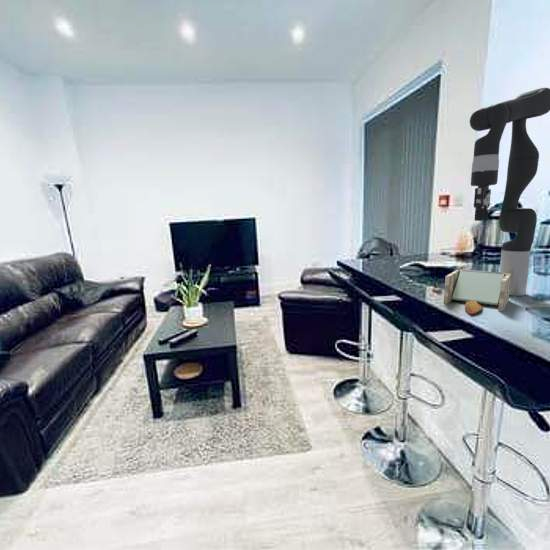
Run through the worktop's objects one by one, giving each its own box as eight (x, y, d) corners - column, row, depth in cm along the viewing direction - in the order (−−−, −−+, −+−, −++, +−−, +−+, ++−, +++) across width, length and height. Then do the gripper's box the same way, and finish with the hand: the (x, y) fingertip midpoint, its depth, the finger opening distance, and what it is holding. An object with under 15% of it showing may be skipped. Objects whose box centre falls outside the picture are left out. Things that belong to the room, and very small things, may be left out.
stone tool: (483, 299, 116) (482, 312, 104) (483, 305, 116) (481, 319, 104) (466, 297, 119) (463, 310, 106) (466, 303, 119) (462, 317, 107)
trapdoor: (461, 270, 130) (460, 268, 129) (504, 274, 121) (504, 272, 120) (452, 299, 123) (452, 297, 122) (497, 305, 114) (497, 303, 113)
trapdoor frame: (454, 294, 134) (456, 269, 132) (508, 300, 123) (511, 273, 121) (443, 303, 121) (445, 276, 119) (502, 311, 110) (505, 281, 108)
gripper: (475, 173, 118) (472, 219, 121) (467, 170, 107) (463, 221, 110) (501, 171, 113) (496, 219, 116) (495, 167, 102) (490, 220, 105)
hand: (480, 220), depth 113 cm, fingers open, 8 cm apart
